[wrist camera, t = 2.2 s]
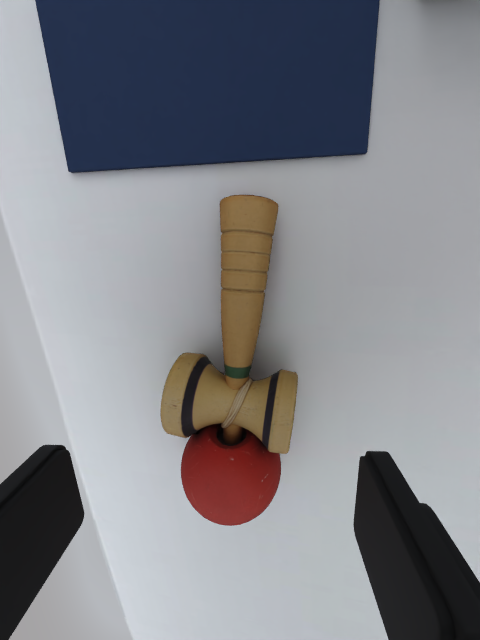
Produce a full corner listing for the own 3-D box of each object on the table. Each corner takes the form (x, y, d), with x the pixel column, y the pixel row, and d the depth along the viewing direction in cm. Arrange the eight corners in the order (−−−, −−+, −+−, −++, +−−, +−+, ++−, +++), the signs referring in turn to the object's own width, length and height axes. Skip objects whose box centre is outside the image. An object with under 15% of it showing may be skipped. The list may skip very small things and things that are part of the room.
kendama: (174, 210, 17) (169, 475, 20) (155, 173, 11) (151, 567, 13) (297, 221, 18) (275, 471, 21) (344, 192, 12) (304, 556, 14)
